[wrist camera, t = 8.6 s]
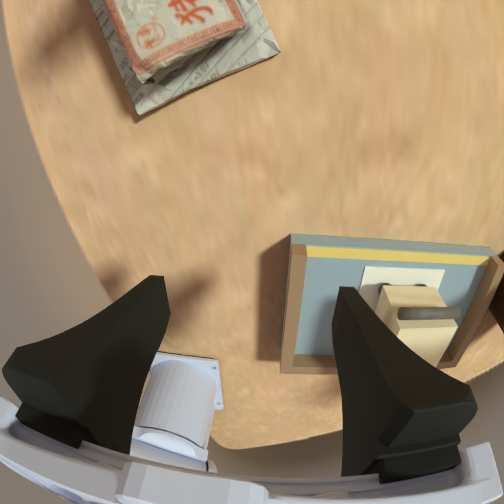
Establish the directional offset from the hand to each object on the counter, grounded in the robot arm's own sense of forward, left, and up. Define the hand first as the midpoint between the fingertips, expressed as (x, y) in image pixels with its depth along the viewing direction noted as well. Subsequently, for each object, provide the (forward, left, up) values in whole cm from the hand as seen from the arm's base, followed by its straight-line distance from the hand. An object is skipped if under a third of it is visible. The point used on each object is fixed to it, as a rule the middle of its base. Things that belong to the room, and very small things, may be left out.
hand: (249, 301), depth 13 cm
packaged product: (+17, +7, -11) cm, 21 cm away
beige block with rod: (-8, -11, -9) cm, 16 cm away
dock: (-8, -11, -10) cm, 17 cm away
